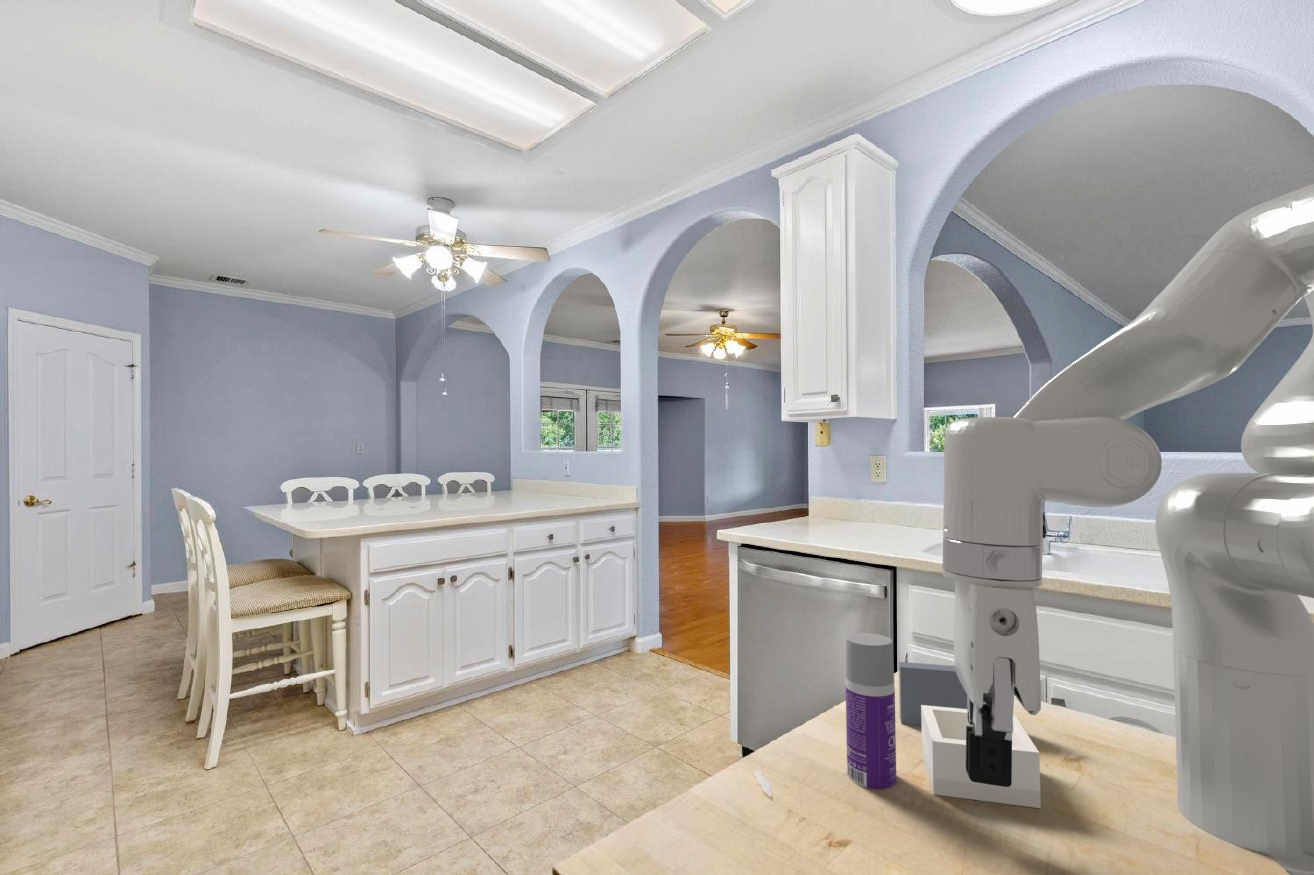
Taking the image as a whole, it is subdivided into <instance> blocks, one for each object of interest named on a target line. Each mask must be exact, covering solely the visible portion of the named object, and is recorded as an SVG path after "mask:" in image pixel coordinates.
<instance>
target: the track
mask: <svg viewBox="0 0 1314 875" xmlns="http://www.w3.org/2000/svg"><path fill="white" fill-rule="evenodd" d="M898 682H899V684H898V685H899V686H898V687H899V688H898V690H899V692H898V693H899V695H898V696H899V719H900V724H901V725H907V726H908V725H909V726H917V727H918V726H919V727H922V725H921V705H927V706H938V707H949V708H959V709H967V694H966V692H965V690H964V688H963V686H962V684H961V682H960V681H959V678H958V676H957V674H956V670H955V665H946V664H934V663H933V664H931V663H918V662H906V661H898Z"/></svg>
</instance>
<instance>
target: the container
mask: <svg viewBox="0 0 1314 875" xmlns="http://www.w3.org/2000/svg"><path fill="white" fill-rule="evenodd" d="M894 668H895V667H894V650H893V639H891V638H890V637H888V636H885V635H882V634H877V633H871V632H856V633H855V632H854V633H850V634H848V635H846V637H845V722H846V723H845V724H846V726H845V729H846V772H847V777H848V778H849V780H850V781H851V782H853V783H854V784H856V785H858V786H860V787H863V788H865V789H866V788H867V789H872V790H886V789H889V788H892V787H894V786H895V785H896V783H897V750H896V749H897V746H896V744H897V742H896V741H897V740H896V739H897V736H896V734H897V733H896V696H895V694H896V690H895V689H896V688H895V672H894V670H895V669H894Z"/></svg>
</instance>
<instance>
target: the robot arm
mask: <svg viewBox="0 0 1314 875" xmlns="http://www.w3.org/2000/svg"><path fill="white" fill-rule="evenodd" d="M1303 298H1304V299H1305V303H1306V305H1307V308H1308V311H1309V315H1310V318H1311V319H1310V320H1311V323H1312V324H1311V325H1312V334H1311V335H1312V336H1311V338H1310V341H1309V343H1308V345H1307V347H1306V348H1305V349H1304V350H1303V352H1302V354H1300V357H1299V358H1298V359H1297V360H1296V361H1295V363H1294V364H1293V365H1292V366H1291V368H1290V369H1289V370H1288V371H1287V372H1286V374H1285V375H1284V376H1283V378H1282V379H1281V380H1280V382H1278V384H1277V385H1276V386H1275V388H1274V389H1272V391H1271V392H1270V394H1268V396H1267V397H1266V399H1265V400H1264V401H1263V402H1262V403H1261V404H1260V406H1259V407H1258V408H1257V410H1256V411H1255V413H1254V414H1253V415H1252V416H1251V418H1250V419H1249V421H1248V423H1247V424H1246V426H1245V429H1244V431H1243V433H1242V436H1241V441H1240V450H1241V454H1242V456H1243V458H1244V461H1245V463H1246V464H1247V465H1248V466H1249V467H1250V468H1251V470H1253V471H1255V472H1215V473H1212V472H1211V473H1206V474H1200V475H1195V476H1193V477H1190V478H1187V479H1185V480H1182V481H1181V482H1179V483H1177V484H1176V485H1174V486H1173V487H1171V488H1170V489H1169V490H1168V491H1167V492H1166V493H1165V495H1164V496H1163V498H1162V499H1161V501H1160V503H1159V505H1158V507H1157V510H1156V516H1155V520H1154V521H1155V522H1154V523H1155V534H1156V539H1157V545H1158V548H1159V553H1160V556H1161V559H1162V563H1163V567H1164V569H1165V570H1164V571H1165V575H1166V579H1167V583H1168V584H1167V585H1168V590H1169V596H1170V606H1171V607H1170V608H1171V621H1172V624H1171V625H1172V639H1173V640H1172V644H1173V646H1172V651H1173V652H1172V654H1173V656H1172V657H1173V683H1174V684H1173V687H1174V688H1173V689H1174V690H1173V691H1174V719H1175V720H1174V721H1175V722H1174V723H1175V749H1176V750H1175V752H1176V753H1175V755H1176V784H1177V786H1176V787H1177V789H1176V791H1177V806H1178V811H1179V812H1180V813H1181V815H1182V817H1184V818H1185V819H1186V820H1187V821H1188V822H1190V823H1191V824H1192V825H1193V826H1195V827H1197V828H1198V829H1200V830H1201V831H1203V832H1205V833H1207V834H1209V835H1211V836H1213V837H1215V838H1216V839H1219V840H1222V841H1223V842H1226V843H1229V844H1231V845H1234V846H1237V847H1239V848H1242V849H1246V850H1249V851H1252V852H1255V853H1259V854H1264V855H1266V856H1269V857H1271V858H1272V859H1273V861H1275V862H1276V863H1277V864H1278V865H1279V866H1280V867H1281V868H1282V869H1284V871H1285V872H1286V873H1288V874H1289V875H1314V621H1313V619H1312V616H1311V615H1310V613H1309V612H1308V609H1307V607H1306V606H1305V604H1304V603H1303V601H1302V599H1301V597H1307V598H1310V599H1311V598H1312V599H1314V183H1311V184H1308V185H1306V186H1304V187H1302V188H1299V189H1296V190H1293V191H1290V192H1289V193H1286V194H1283V195H1281V196H1278V197H1276V198H1272V199H1271V200H1268V201H1265V202H1262V203H1260V204H1257V205H1256V206H1253V207H1251V208H1249V209H1247V210H1245V211H1243V212H1241V213H1240V214H1238V215H1236V216H1235V217H1233V218H1232V219H1230V220H1229V221H1227V222H1225V223H1224V224H1223V226H1221V227H1220V228H1219V229H1218V230H1217V231H1216V232H1215V233H1214V234H1213V236H1211V237H1210V239H1209V240H1208V241H1207V242H1206V243H1205V244H1204V245H1203V246H1202V247H1201V248H1200V249H1199V250H1198V251H1197V253H1196V254H1194V256H1192V258H1191V259H1190V260H1189V261H1188V262H1187V264H1186V265H1185V266H1184V267H1183V268H1181V270H1180V271H1179V272H1178V273H1177V275H1175V277H1174V278H1173V279H1172V280H1171V281H1170V282H1169V283H1168V284H1167V285H1166V286H1165V288H1164V289H1163V290H1162V291H1161V292H1160V293H1159V294H1158V295H1157V296H1156V297H1155V298H1154V299H1153V300H1152V301H1151V303H1150V304H1149V305H1148V306H1147V307H1146V308H1145V309H1144V310H1143V311H1142V312H1141V313H1140V314H1139V315H1137V316H1136V318H1134V319H1133V320H1132V321H1130V322H1128V324H1127V325H1125V326H1124V327H1122V328H1120V329H1118V330H1117V331H1116V332H1114V333H1112V334H1111V335H1110V336H1108V337H1107V338H1106V339H1104V340H1103V341H1101V342H1100V343H1099V344H1097V345H1096V346H1095V347H1094V348H1092V349H1091V350H1089V351H1088V352H1087V353H1085V354H1084V355H1082V356H1080V358H1078V359H1076V360H1075V361H1074V362H1072V363H1071V364H1069V365H1068V366H1067V367H1065V368H1063V370H1061V371H1059V373H1057V374H1056V375H1054V376H1053V377H1052V378H1051V379H1050V380H1048V381H1047V382H1046V383H1045V384H1043V386H1041V387H1040V388H1039V389H1038V390H1037V391H1036V392H1035V393H1034V394H1033V395H1032V396H1031V397H1030V398H1029V400H1027V402H1025V404H1024V405H1023V406H1022V407H1021V408H1020V409H1019V410H1018V411H1017V412H1016V414H1014V416H1011V417H1007V416H979V417H966V418H960V419H957V420H954V421H953V422H951V423H950V424H949V425H948V426H947V429H946V431H945V435H944V447H943V448H944V451H943V452H944V454H943V455H944V456H943V457H944V459H943V460H944V461H943V462H944V463H943V466H944V467H943V519H942V520H943V521H942V522H943V523H942V525H943V526H942V527H943V528H942V535H943V537H942V576H943V577H945V578H948V579H950V580H953V581H955V586H954V588H955V589H954V612H953V614H954V615H953V652H954V653H953V654H954V655H953V658H954V660H953V661H954V666H955V670H956V674H957V676H958V678H959V681H960V682H961V684H962V686H963V688H964V690H965V692H966V694H967V719H968V724H969V725H973V727H971V726H966V771H967V773H968V776H969V778H970V780H971V781H972V782H976V783H983V784H989V785H996V786H1002V787H1010V786H1011V784H1012V733H1013V714H1014V706H1015V705H1014V704H1015V698H1016V700H1017V701H1018V702H1019V703H1020V704H1021V706H1022V707H1023V709H1024V710H1025V711H1026V712H1027V713H1028V714H1029V715H1031V716H1035V715H1038V714H1039V713H1040V712H1041V710H1042V695H1041V694H1042V690H1041V688H1042V687H1041V663H1040V661H1041V660H1040V644H1039V643H1040V638H1039V627H1038V623H1039V622H1038V614H1037V606H1036V605H1037V604H1036V598H1035V592H1034V588H1038V587H1039V588H1040V587H1042V585H1043V533H1044V532H1043V531H1044V530H1043V527H1044V526H1043V523H1044V522H1043V521H1044V520H1043V519H1044V516H1043V515H1044V503H1045V502H1048V503H1049V502H1050V503H1061V504H1066V505H1072V506H1080V507H1090V508H1113V507H1119V506H1124V505H1127V504H1129V503H1133V502H1135V501H1136V500H1139V499H1140V498H1142V497H1143V496H1145V495H1146V494H1147V493H1149V492H1150V491H1151V490H1152V489H1153V488H1154V487H1155V485H1156V484H1157V482H1158V480H1159V477H1160V475H1161V473H1162V464H1163V462H1162V455H1161V451H1160V449H1159V446H1158V445H1157V443H1156V441H1155V440H1154V439H1153V438H1152V436H1150V434H1149V433H1147V432H1146V431H1145V430H1144V429H1142V428H1141V427H1139V426H1137V425H1136V424H1133V423H1131V422H1129V421H1126V420H1127V419H1129V418H1131V417H1132V416H1134V415H1137V414H1139V413H1141V412H1143V411H1145V410H1148V409H1151V408H1153V407H1155V406H1158V405H1162V404H1164V403H1167V402H1170V401H1173V400H1176V399H1179V398H1182V397H1184V396H1188V395H1190V394H1192V393H1194V392H1198V391H1200V390H1202V389H1204V388H1206V387H1208V386H1210V385H1213V384H1215V383H1217V382H1219V381H1220V380H1223V379H1224V378H1227V377H1228V376H1230V375H1232V374H1233V373H1234V372H1235V371H1237V370H1238V369H1239V368H1240V367H1241V366H1243V364H1244V363H1245V362H1246V360H1247V359H1248V358H1249V357H1250V356H1251V354H1253V352H1254V351H1255V350H1256V349H1258V347H1259V346H1260V344H1262V343H1263V341H1264V340H1265V339H1266V338H1267V337H1268V336H1269V335H1270V334H1271V332H1272V331H1273V330H1274V329H1275V328H1276V327H1277V325H1279V323H1280V322H1281V321H1282V320H1283V319H1284V318H1285V317H1286V315H1287V314H1289V313H1290V312H1291V311H1292V309H1293V308H1294V307H1295V306H1296V305H1297V304H1298V303H1299V302H1300V301H1301V300H1302V299H1303ZM1300 596H1301V597H1300Z"/></svg>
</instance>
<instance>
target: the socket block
mask: <svg viewBox="0 0 1314 875" xmlns="http://www.w3.org/2000/svg"><path fill="white" fill-rule="evenodd" d="M921 725H922V726H921V753H922V756H923V760H924V764H925V767H926V772H927V775H928V778H929V783H930V787H931V790H932V793H933V795H934V796H935V795H936V796H943V797H950V798H958V799H965V800H966V799H967V800H975V801H981V802H988V803H997V804H1005V805H1012V806H1019V807H1025V808H1026V807H1028V808H1035V809H1036V808H1037V809H1041V808H1042V807H1041V806H1042V804H1041V801H1042V800H1041V798H1042V797H1041V765H1040V764H1041V763H1040V761H1041V760H1040V757H1041V756H1040V751H1039V750H1038V748H1037V746H1036V745H1035V744H1034V743H1033V741H1032V739H1031V738H1030V736H1029V735H1028V733H1027V732H1026V730H1025V729H1024V727H1023V726H1022V724H1021V723H1020V721H1019V720H1018V718H1017V716H1016V715H1015V714H1014V713H1013V733H1012V784H1011V786H1010V787H1002V786H996V785H989V784H983V783H976V782H972V781H971V780H970V778H969V776H968V773H967V771H966V726H971V727H973V725H969V724H968V719H967V709H959V708H949V707H938V706H927V705H921Z"/></svg>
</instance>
